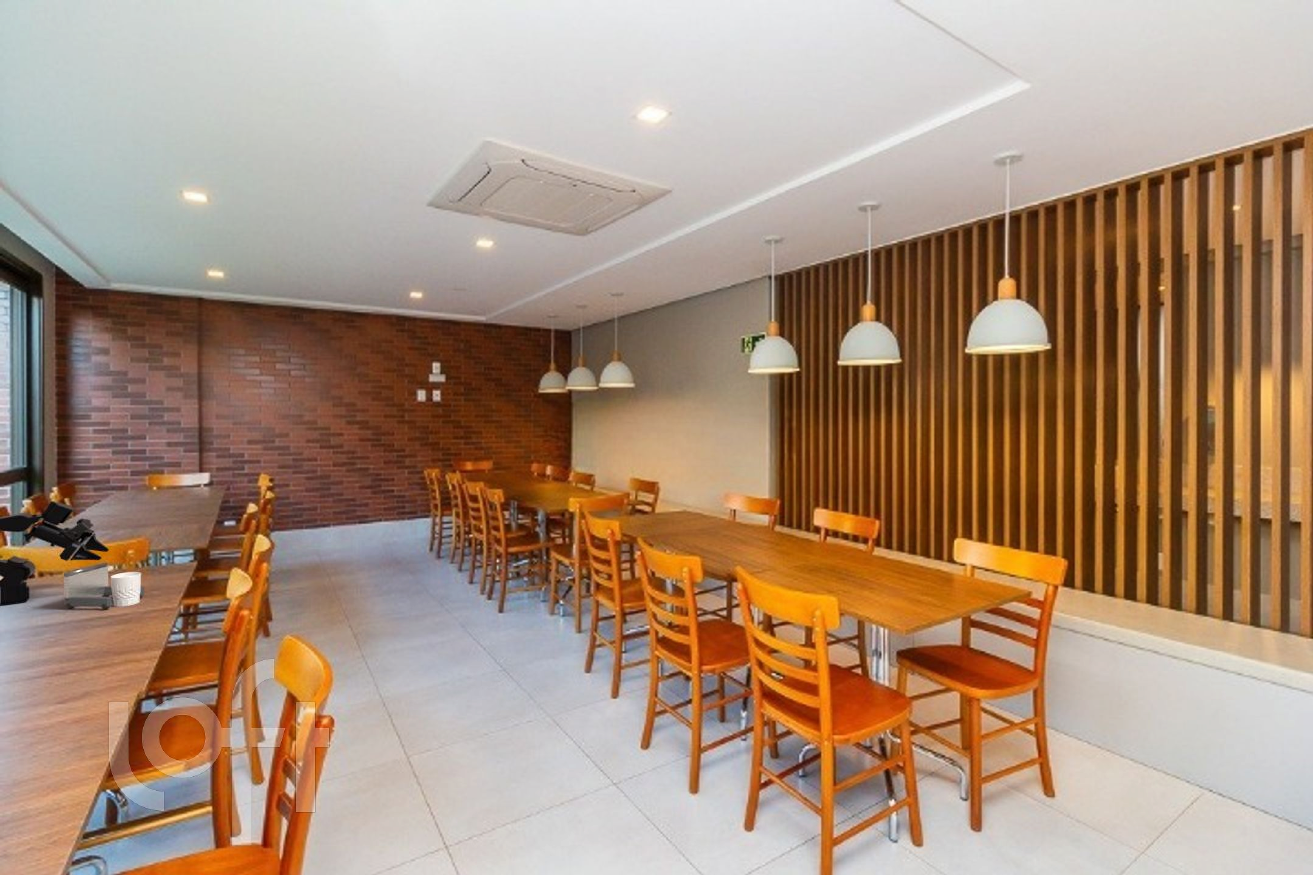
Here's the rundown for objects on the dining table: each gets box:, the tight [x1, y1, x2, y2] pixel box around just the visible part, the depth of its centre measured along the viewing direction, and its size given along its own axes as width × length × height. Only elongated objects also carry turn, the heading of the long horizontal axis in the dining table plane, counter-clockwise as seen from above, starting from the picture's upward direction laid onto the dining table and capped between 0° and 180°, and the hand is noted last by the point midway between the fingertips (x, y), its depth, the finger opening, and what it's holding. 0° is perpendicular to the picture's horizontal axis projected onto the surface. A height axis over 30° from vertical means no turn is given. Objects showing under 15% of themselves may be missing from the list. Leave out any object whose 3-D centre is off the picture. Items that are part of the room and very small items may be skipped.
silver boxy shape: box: [63, 562, 145, 610], centre depth 211 cm, size 15×15×12 cm
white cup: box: [110, 571, 142, 608], centre depth 211 cm, size 8×8×10 cm
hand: (104, 554), depth 225 cm, fingers open, 9 cm apart
